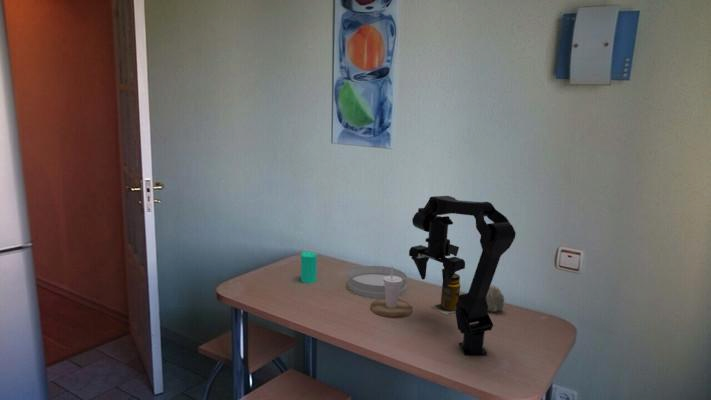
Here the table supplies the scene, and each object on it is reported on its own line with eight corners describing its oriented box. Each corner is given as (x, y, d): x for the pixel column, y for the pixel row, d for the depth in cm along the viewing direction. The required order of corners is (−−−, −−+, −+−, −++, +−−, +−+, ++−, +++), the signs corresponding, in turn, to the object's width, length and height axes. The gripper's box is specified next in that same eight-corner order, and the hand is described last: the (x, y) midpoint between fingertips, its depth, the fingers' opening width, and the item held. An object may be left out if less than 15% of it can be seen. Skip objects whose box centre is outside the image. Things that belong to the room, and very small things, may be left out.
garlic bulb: (500, 320, 169) (510, 298, 164) (476, 314, 169) (485, 292, 165) (497, 301, 177) (506, 280, 173) (474, 296, 178) (482, 274, 173)
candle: (298, 278, 193) (299, 248, 191) (313, 276, 196) (314, 247, 193) (303, 283, 188) (304, 253, 186) (318, 282, 190) (319, 251, 188)
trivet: (415, 318, 162) (415, 314, 162) (372, 317, 161) (373, 314, 161) (408, 301, 176) (408, 298, 176) (368, 300, 175) (368, 297, 175)
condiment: (463, 310, 171) (466, 276, 168) (445, 314, 166) (448, 280, 164) (448, 302, 176) (451, 270, 174) (430, 307, 172) (433, 273, 169)
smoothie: (378, 304, 169) (380, 264, 167) (393, 300, 173) (396, 262, 170) (388, 311, 164) (391, 270, 161) (404, 307, 167) (407, 268, 164)
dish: (393, 303, 174) (394, 290, 173) (337, 291, 183) (338, 278, 182) (414, 284, 193) (415, 272, 192) (363, 273, 203) (363, 262, 202)
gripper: (478, 239, 152) (474, 287, 155) (433, 226, 166) (429, 270, 169) (454, 244, 145) (450, 295, 148) (409, 230, 159) (406, 276, 162)
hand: (434, 283), depth 157 cm, fingers open, 9 cm apart
